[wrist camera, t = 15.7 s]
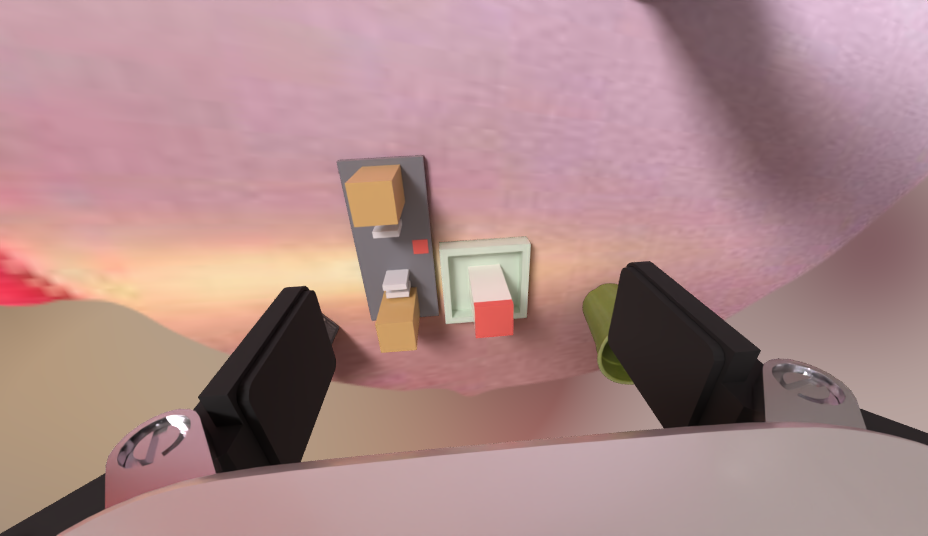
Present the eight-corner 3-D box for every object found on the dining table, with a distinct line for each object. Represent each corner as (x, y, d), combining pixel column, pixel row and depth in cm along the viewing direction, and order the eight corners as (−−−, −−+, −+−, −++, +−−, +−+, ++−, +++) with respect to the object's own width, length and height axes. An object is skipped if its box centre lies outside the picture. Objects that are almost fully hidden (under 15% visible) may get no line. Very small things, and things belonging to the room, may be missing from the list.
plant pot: (643, 320, 54) (689, 372, 44) (572, 339, 55) (601, 393, 45) (642, 259, 49) (694, 302, 39) (563, 280, 49) (594, 327, 40)
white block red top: (499, 264, 47) (513, 304, 38) (499, 290, 49) (513, 334, 40) (467, 266, 47) (474, 307, 38) (469, 293, 49) (476, 338, 40)
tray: (526, 236, 46) (530, 243, 43) (522, 307, 51) (526, 317, 49) (439, 242, 45) (439, 250, 43) (445, 313, 51) (445, 323, 49)
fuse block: (423, 155, 40) (419, 170, 32) (438, 311, 51) (438, 352, 43) (338, 159, 39) (313, 177, 31) (372, 316, 50) (360, 358, 42)
